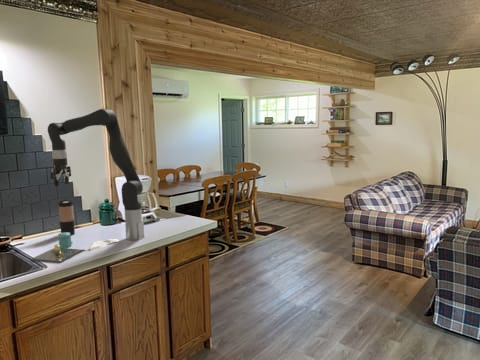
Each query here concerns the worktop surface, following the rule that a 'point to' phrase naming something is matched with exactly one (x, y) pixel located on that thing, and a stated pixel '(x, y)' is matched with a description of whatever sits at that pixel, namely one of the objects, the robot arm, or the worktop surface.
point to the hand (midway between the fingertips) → (62, 185)
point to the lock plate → (57, 254)
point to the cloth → (101, 244)
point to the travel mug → (66, 216)
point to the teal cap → (65, 240)
